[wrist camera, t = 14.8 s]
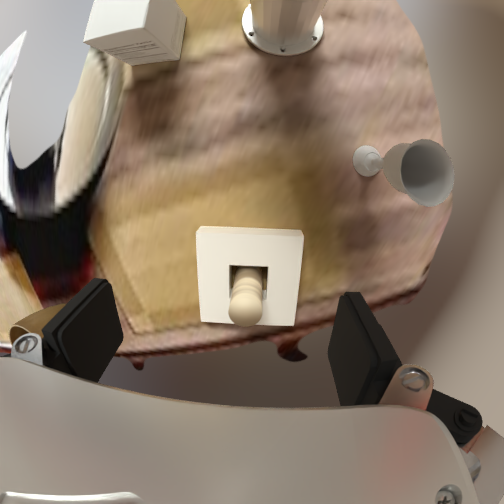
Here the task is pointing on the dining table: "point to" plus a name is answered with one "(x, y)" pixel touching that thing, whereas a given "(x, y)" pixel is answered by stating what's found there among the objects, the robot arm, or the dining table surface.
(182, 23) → the supplement box
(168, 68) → the dining table surface
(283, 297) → the socket
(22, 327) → the plant pot
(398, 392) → the robot arm
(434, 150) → the chalice
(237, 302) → the peg
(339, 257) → the dining table surface
